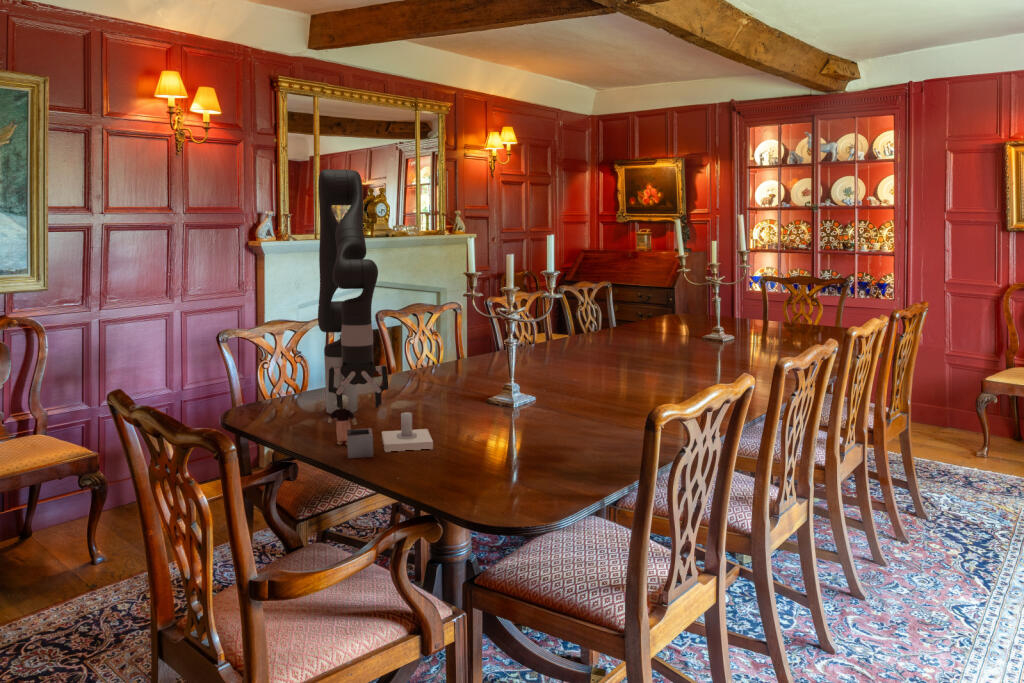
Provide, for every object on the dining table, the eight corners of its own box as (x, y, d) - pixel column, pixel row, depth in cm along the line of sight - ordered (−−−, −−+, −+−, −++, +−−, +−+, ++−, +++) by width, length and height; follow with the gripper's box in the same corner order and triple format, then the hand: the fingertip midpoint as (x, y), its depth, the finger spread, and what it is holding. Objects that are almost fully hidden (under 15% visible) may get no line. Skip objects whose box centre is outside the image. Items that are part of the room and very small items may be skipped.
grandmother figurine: (359, 441, 197) (358, 393, 195) (357, 445, 193) (355, 397, 191) (329, 441, 197) (328, 393, 195) (326, 445, 193) (325, 397, 191)
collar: (347, 450, 188) (347, 429, 187) (372, 449, 190) (371, 428, 189) (348, 458, 183) (347, 436, 182) (373, 456, 184) (372, 434, 183)
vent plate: (381, 438, 199) (381, 409, 198) (427, 436, 202) (427, 407, 200) (384, 452, 187) (384, 421, 186) (433, 449, 190) (432, 418, 189)
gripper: (386, 339, 187) (387, 403, 189) (327, 341, 184) (329, 406, 186) (388, 343, 180) (389, 410, 182) (326, 345, 177) (329, 413, 179)
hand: (359, 408), depth 184 cm, fingers open, 8 cm apart
